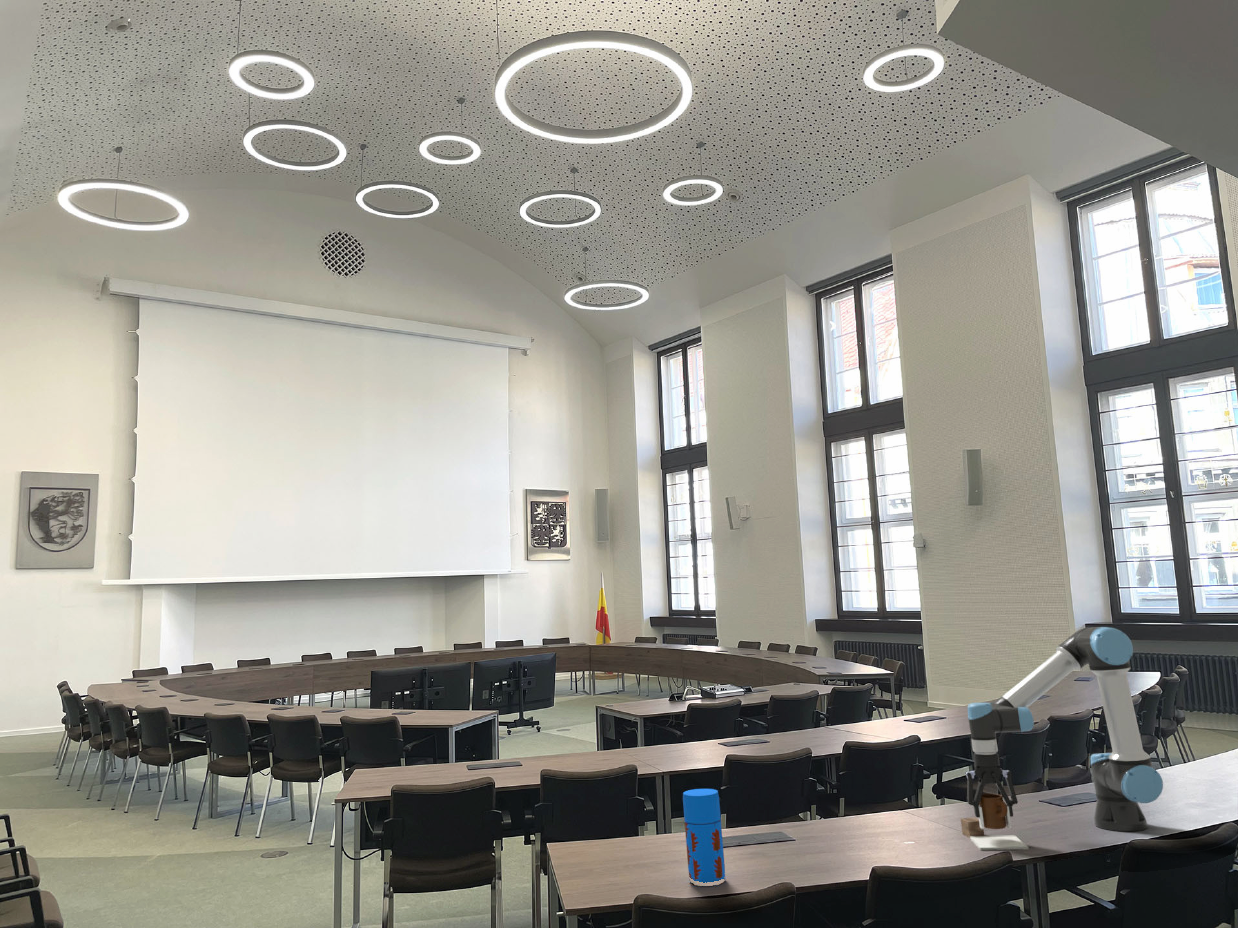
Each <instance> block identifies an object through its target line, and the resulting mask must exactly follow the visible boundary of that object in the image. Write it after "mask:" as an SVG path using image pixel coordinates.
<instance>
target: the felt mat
mask: <svg viewBox="0 0 1238 928" xmlns="http://www.w3.org/2000/svg"><path fill="white" fill-rule="evenodd" d="M969 839H970V840H971V842H972V843H973V844H974V845H975V846H976V847H977V849H979V850H980V851H1006V850H1007V851H1011V850H1015V851H1016V850H1017V851H1018V850H1029V846H1028V845H1026V844H1025V843H1024V841H1023V842H1022V839H1021V840H1020V839H1019V837H1017V835H1015V834H1010V835H984V836H970V838H969Z"/></svg>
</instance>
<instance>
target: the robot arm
mask: <svg viewBox="0 0 1238 928" xmlns="http://www.w3.org/2000/svg"><path fill="white" fill-rule="evenodd" d="M1055 650H1056V652H1054V653H1053V654H1052V655H1051V656H1050V657H1048V658H1047V659H1046V660H1045V661H1044V662H1043V663H1041V664H1040V665H1038V666H1037V667H1036V668H1035V669H1034V670H1033V671H1031V672H1030V673H1029V674H1028V675H1026V676H1025V677H1024V678H1022V679H1021V680H1020V681H1019V682H1018V683H1017V684H1015V685H1014V686H1013V687H1012V688H1010V689H1009V690H1008V691H1007V692H1005V693H1004V694H1003V695H1002V696H1000V697H999V698H998V699H997V700H995V701H994V702H972V703H969V704H968V705H967V720H968V725H969V731H970V737H971V738H970V739H971V747H972V751H973V752H974V753H973V762H974V769H973V770H971V771H965V776H966V779H967V780H966V783H967V785H966V786H967V787H966V788H967V789H966V790H967V791H966V792H967V793H966V802H967V804H968V805H970V806H973V811H974V816H975V818H978V819H979V824H980V828H981V829H984V830H985V828H984V822H983V814H982V807H981V806H980V805H979V803H980V800H981V796H982V794H983V791H984V789H985V788H984V787H985V786H986V785H987V784H995V786H996V787H997V789H998V791H999V793H1000V795H1001V796H1002V797H1003V801H1004V802H1005V803H1006V805H1007V815H1006V816H1005V818H1006V827H1007V828H1008V829H1009V830H1010V829H1012V822H1011V821H1012V820H1011V818H1012V817H1014V812H1013V811H1014V810H1013V806H1014V805H1017V804H1018V803H1019V802H1018V798H1017V797H1018V796H1017V795H1016V792H1015V787H1014V784H1013V781H1012V774H1013V773H1012V772H1011V771H1010V770H1008V769H1007V770H1004V769H1002V768H1001V764H1000V755H999V754H998V751H999V749H998V743H997V735H996V734H997V733H998V734H999V733H1017V732H1018V733H1020V732H1021V733H1023V732H1030V731H1032V729H1033V728H1034V724H1035V723H1034V717H1033V716H1034V715H1033V713H1032V711H1031V710H1030V709H1029V707H1031V705H1032V704H1033V703H1035V702H1036V701H1037V700H1038V699H1039V698H1041V697H1042V696H1043V695H1045V694H1046V693H1047V692H1048V691H1049V690H1050V689H1052V688H1053V687H1055V686H1056V685H1057V684H1059V683H1060V682H1061V681H1062V680H1063V679H1065V678H1066V677H1067V676H1068V675H1069V674H1071V673H1072V672H1074V670H1075V671H1080V670H1081V669H1082V668H1084V667H1086V666H1087V665H1088V667H1089V671H1090V672H1091V673H1093V674H1094V675H1095V676H1096V680H1097V684H1098V689H1099V694H1100V699H1101V703H1102V707H1103V708H1102V709H1103V712H1104V717H1105V721H1106V725H1107V732H1108V737H1109V741H1110V745H1111V749H1112V752H1104V753H1103V752H1102V753H1099V752H1098V753H1092V754H1091V755H1090V768H1091V773H1092V778H1093V779H1092V780H1093V785H1094V791H1095V796H1096V804H1095V810H1094V815H1093V821H1094V825H1095V826H1096V827H1098V828H1100V829H1104V830H1110V831H1117V832H1138V831H1142V830H1143V831H1144V830H1146V829H1148V821H1147V818H1146V817H1145V814H1144V813H1143V810H1142V808H1141V806H1140V805H1139V804H1149V803H1150V804H1151V803H1153V802H1154V801H1156V800H1158V798H1159V797H1160V796H1161V794H1162V792H1163V789H1164V783H1163V778H1162V776H1161V774H1160V773H1159V771H1157V769H1155V768H1154V767H1153V763H1152V758H1151V756H1150V755H1149V754H1148V753H1147V752H1146V751H1145V750H1144V748H1143V743H1142V739H1141V735H1140V729H1139V725H1138V722H1137V721H1138V720H1137V715H1136V712H1135V707H1134V702H1133V698H1132V693H1131V688H1130V684H1129V679H1128V672H1129V671H1130V670H1131V664H1130V663H1131V662H1130V660H1131V658H1132V656H1133V653H1134V647H1133V644H1132V641H1131V639H1130V638H1129V636H1128V635H1127V634H1126V633H1125V632H1123V631H1122V630H1120V629H1118V628H1115V627H1109V626H1097V627H1095V626H1087V627H1083V628H1081V629H1079V630H1077V631H1076V632H1074V633H1073V634H1071V635H1070V636H1069V637H1068V638H1066V640H1064V641H1063V642H1061V643H1060V644H1059V645H1058V646H1056V649H1055ZM1002 775H1003V777H1004V778H1005V782H1006V786H1007V789H1008V792H1009V796H1010V797H1009V796H1008V794H1007V791H1006V790H1005V789H1004V786H1003V784H1002V782H1001V781H1000V778H1001V776H1002ZM975 776H976V777H977V779H978V782H977V787H976V791H975V793H974V780H973V779H975ZM974 794H975V795H974ZM973 795H974V796H973Z"/></svg>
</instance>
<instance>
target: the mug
mask: <svg viewBox="0 0 1238 928" xmlns="http://www.w3.org/2000/svg"><path fill="white" fill-rule="evenodd" d="M979 805H980V806H981V807H982V814H983V822H984V829H988V830H989V829H990V830H1002V829H1005V828H1006V827H1007V824H1006V815H1007V804H1006V802H1005V800H1004V798H1003V797H1002V795H1001V794H998V793H982V796H981V800H980V803H979Z"/></svg>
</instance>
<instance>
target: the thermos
mask: <svg viewBox="0 0 1238 928" xmlns="http://www.w3.org/2000/svg"><path fill="white" fill-rule="evenodd" d="M718 791H719V790H717V789H714V788H694V789H689V790H686V791H684V792H683V793H682V803H683V805H682V806H683V818H684V829H685V843H686V845H685V846H686V856H687V869H688V876H689V877H690V878H691V879H693V880H694V881H699V882H703V883H705V882H706V883H707V882H714V881H719V880H721V879H724V877H725V878H726V866H725V855H724V854H725V853H724V843H723V842H724V841H723V830H722V829H723V828H722V819H721V806H720V796H719V792H718ZM689 877H688V878H689Z"/></svg>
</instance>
